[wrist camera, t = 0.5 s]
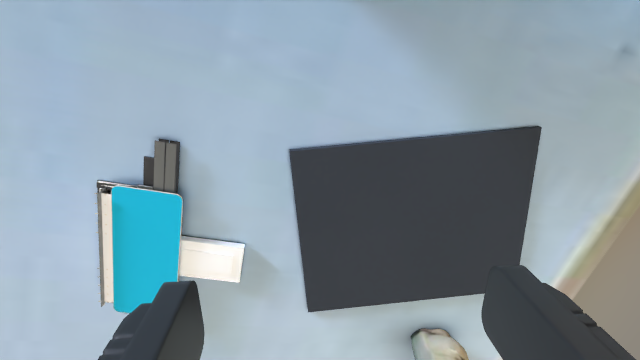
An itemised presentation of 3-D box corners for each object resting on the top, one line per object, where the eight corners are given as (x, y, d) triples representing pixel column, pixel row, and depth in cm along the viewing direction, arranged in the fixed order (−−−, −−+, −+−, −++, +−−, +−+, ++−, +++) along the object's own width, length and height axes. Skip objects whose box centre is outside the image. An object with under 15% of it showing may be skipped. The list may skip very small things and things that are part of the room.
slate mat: (289, 149, 28) (289, 151, 27) (538, 126, 28) (541, 127, 28) (308, 309, 34) (308, 312, 33) (513, 287, 34) (515, 290, 34)
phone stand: (230, 345, 35) (227, 359, 33) (103, 333, 33) (93, 347, 32) (257, 154, 28) (255, 161, 26) (96, 127, 26) (83, 133, 25)
